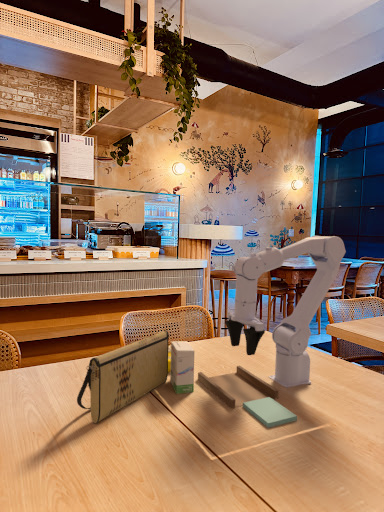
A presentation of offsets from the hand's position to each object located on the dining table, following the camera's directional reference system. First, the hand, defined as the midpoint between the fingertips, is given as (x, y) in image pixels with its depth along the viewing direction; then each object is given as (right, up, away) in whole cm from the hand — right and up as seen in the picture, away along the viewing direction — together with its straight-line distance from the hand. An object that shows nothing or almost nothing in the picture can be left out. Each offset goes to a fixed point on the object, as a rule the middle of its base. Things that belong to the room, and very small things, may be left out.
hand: (242, 350), depth 98 cm
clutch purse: (-31, -11, -8) cm, 33 cm away
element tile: (-25, -9, +16) cm, 31 cm away
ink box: (-17, -10, -1) cm, 20 cm away
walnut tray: (-2, -11, -2) cm, 11 cm away
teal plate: (+4, -12, -14) cm, 19 cm away
